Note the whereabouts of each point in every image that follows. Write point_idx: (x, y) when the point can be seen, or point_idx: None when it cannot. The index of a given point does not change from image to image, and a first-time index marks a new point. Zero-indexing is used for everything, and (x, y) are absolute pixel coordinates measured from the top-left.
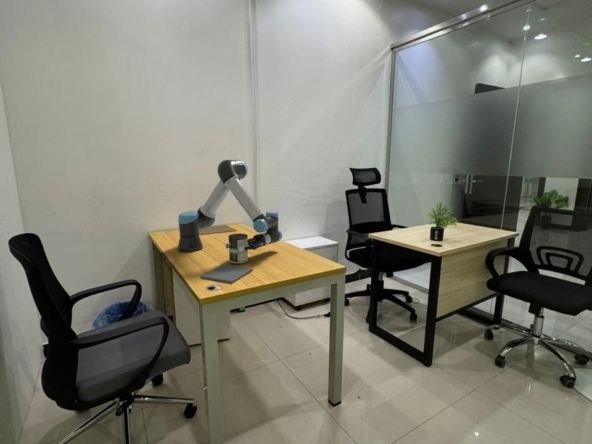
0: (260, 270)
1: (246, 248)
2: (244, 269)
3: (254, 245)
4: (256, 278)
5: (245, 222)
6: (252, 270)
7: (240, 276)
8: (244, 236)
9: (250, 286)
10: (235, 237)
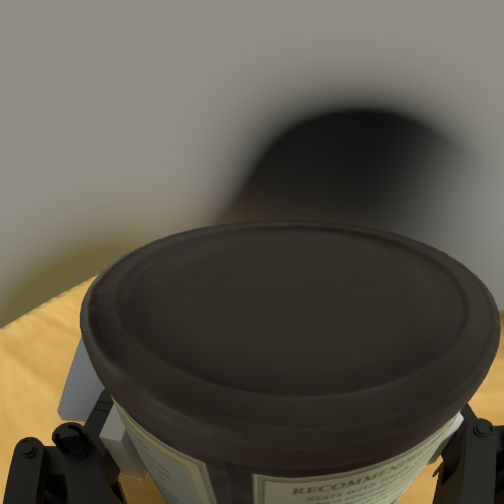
0: (23, 436)
1: (106, 400)
2: (99, 392)
3: (15, 454)
4: (23, 358)
5: None
6: (61, 415)
7: None
8: (143, 303)
9: (33, 315)
10: (243, 238)
